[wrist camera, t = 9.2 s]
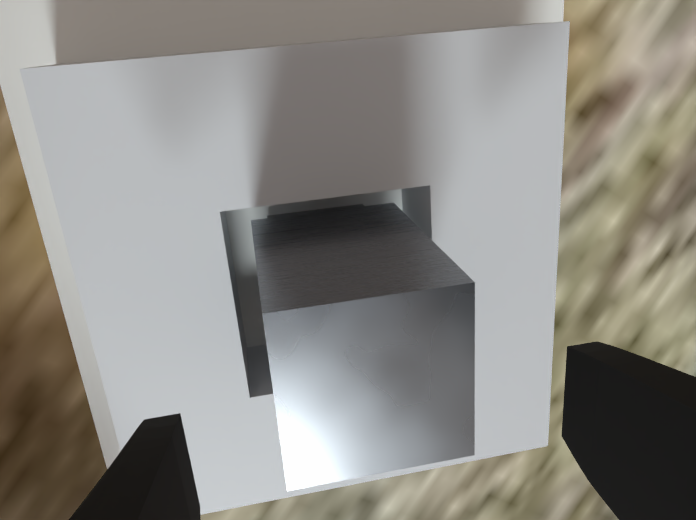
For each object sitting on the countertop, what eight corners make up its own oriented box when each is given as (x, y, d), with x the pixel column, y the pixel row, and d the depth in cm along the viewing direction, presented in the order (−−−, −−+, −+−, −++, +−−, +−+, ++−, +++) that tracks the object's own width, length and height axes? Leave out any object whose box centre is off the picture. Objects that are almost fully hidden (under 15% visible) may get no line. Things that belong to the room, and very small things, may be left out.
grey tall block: (383, 302, 20) (474, 455, 13) (265, 320, 19) (286, 491, 12) (377, 186, 19) (475, 282, 11) (248, 201, 18) (262, 313, 11)
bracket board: (531, 427, 24) (584, 497, 21) (127, 505, 22) (106, 598, 18) (550, -68, 18) (633, -96, 14) (-19, -33, 16) (-95, -55, 12)
